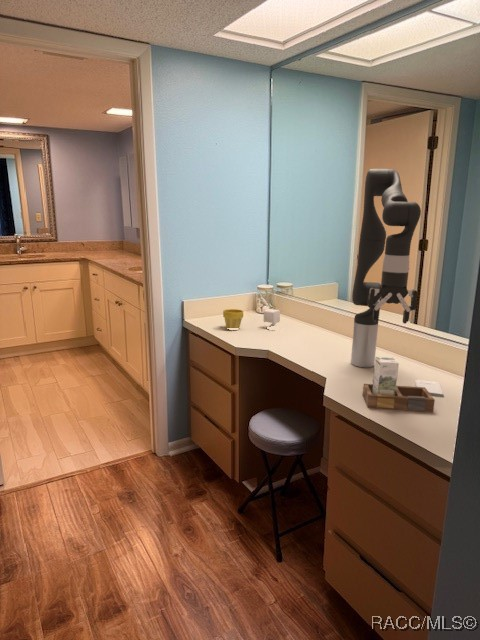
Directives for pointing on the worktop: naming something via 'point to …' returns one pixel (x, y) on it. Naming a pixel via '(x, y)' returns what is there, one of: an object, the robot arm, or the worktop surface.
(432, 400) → the socket block
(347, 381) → the worktop surface
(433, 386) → the external hard drive
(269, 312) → the security camera
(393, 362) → the syrup box
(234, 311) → the plant pot
